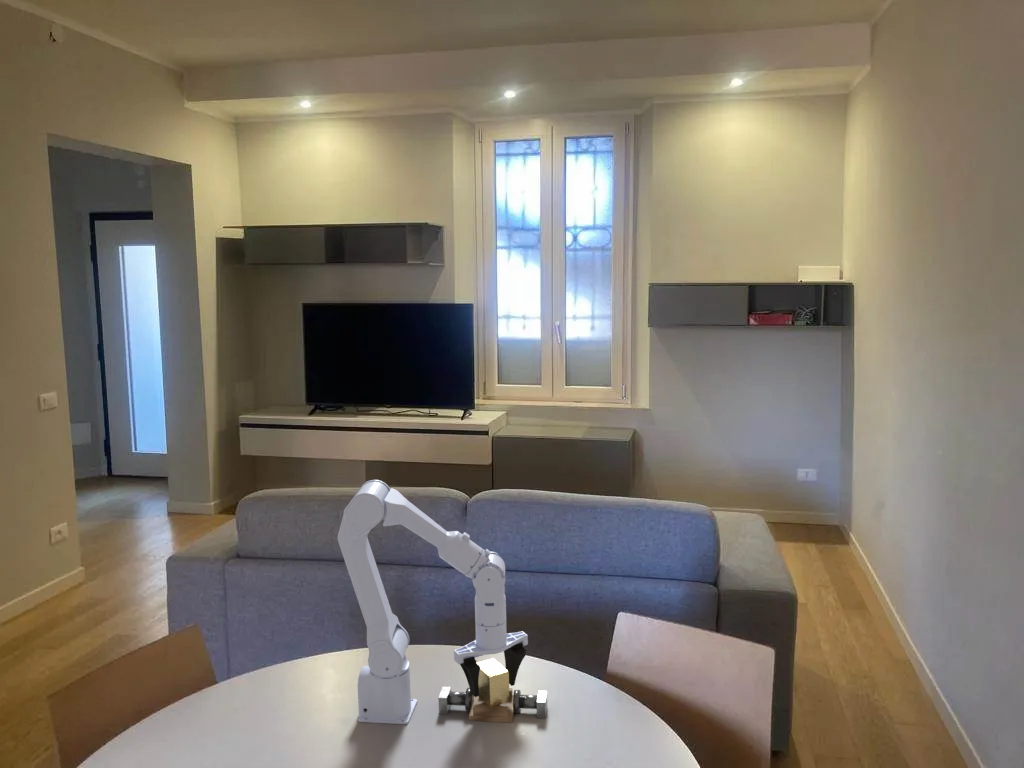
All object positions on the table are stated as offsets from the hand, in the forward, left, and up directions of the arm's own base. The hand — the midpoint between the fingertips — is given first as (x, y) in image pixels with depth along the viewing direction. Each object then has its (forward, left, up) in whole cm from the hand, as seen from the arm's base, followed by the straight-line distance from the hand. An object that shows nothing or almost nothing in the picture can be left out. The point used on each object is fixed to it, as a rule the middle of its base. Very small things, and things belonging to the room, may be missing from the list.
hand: (492, 688), depth 150 cm
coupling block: (0, 0, -2) cm, 2 cm away
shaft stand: (0, 0, -4) cm, 4 cm away
